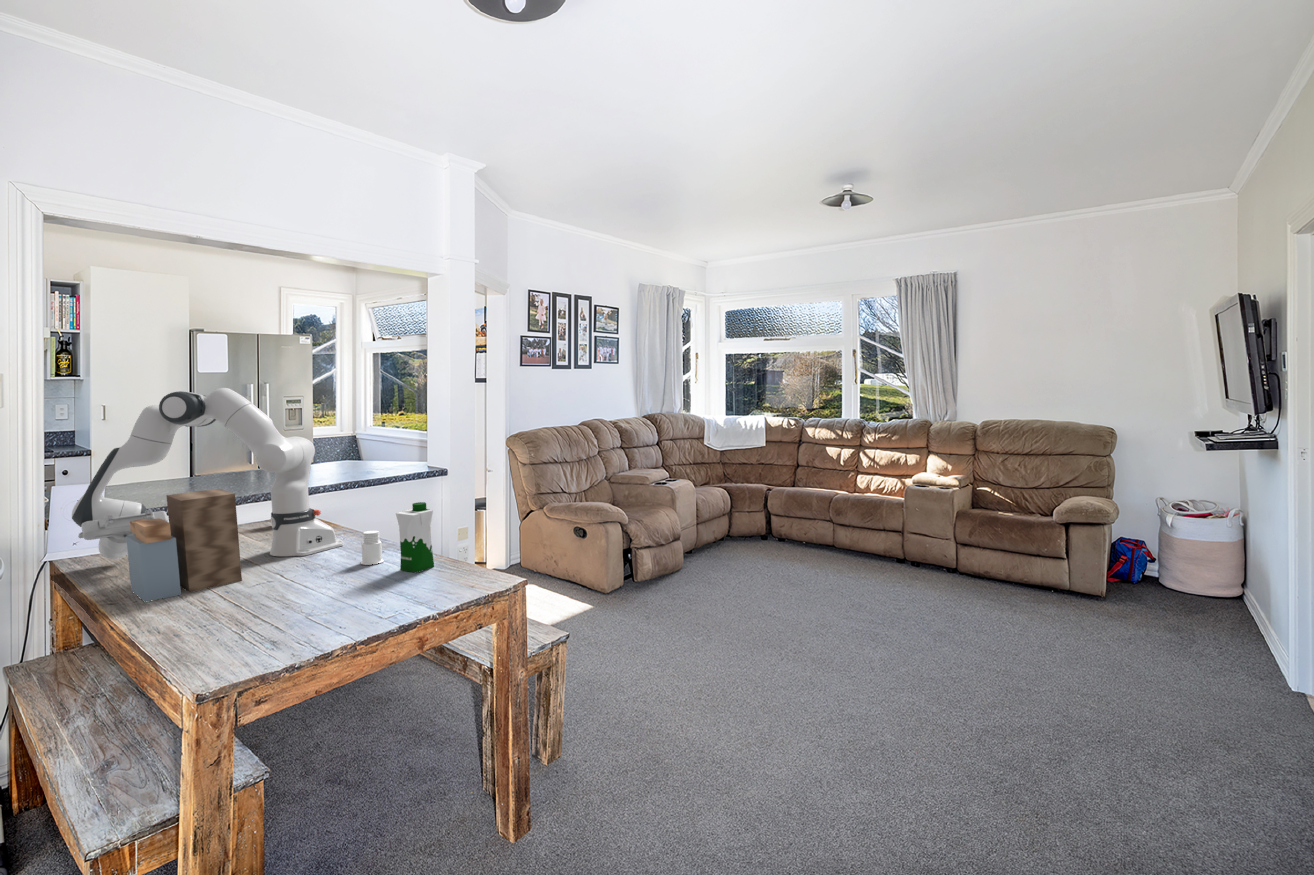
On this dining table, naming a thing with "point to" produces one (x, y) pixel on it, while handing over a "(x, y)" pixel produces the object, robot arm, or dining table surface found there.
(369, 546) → the white pill bottle
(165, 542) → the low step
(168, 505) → the tall stand
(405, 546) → the milk carton
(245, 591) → the dining table surface
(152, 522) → the brown wooden block
